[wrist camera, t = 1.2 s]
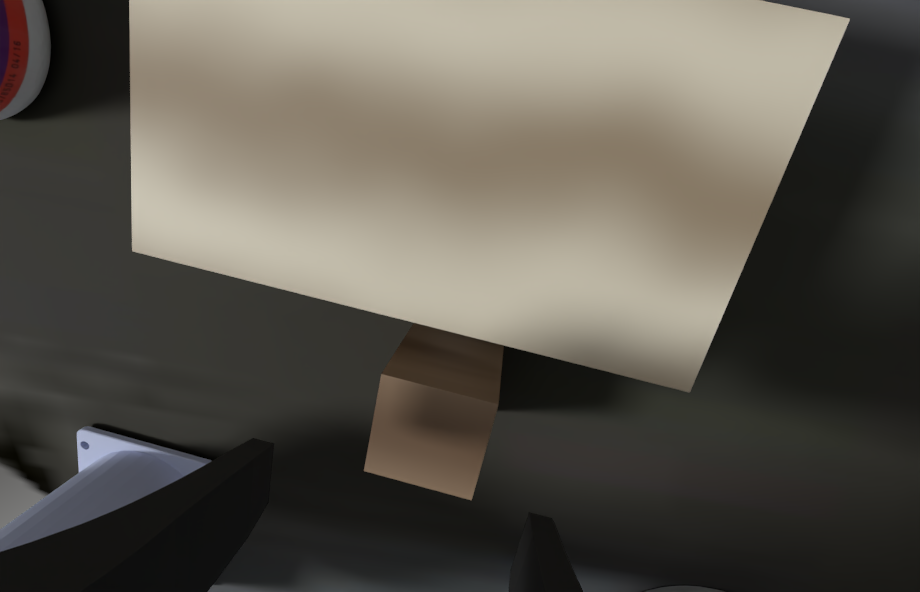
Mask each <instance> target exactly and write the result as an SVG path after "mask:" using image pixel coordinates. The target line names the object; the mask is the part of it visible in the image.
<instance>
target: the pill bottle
mask: <svg viewBox="0 0 920 592" xmlns="http://www.w3.org/2000/svg"><path fill="white" fill-rule="evenodd" d="M50 55H51V41H50V30H49V24H48V19H47V15H46V11H45V8H44V4H43V1H42V0H0V120H2V119H6V118H8V117H11V116H13V115H15V114H17V113H19V112H20V111H22V110H23V109H25V108H26V107H27V106H28V105H29V104H31V103H32V102H33V101H34V99H35V98H36V97H37V96H38V94H39V93H40V91H41V89H42V87H43V84H44V82H45V80H46V77H47V73H48V70H49V64H50Z"/></svg>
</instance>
